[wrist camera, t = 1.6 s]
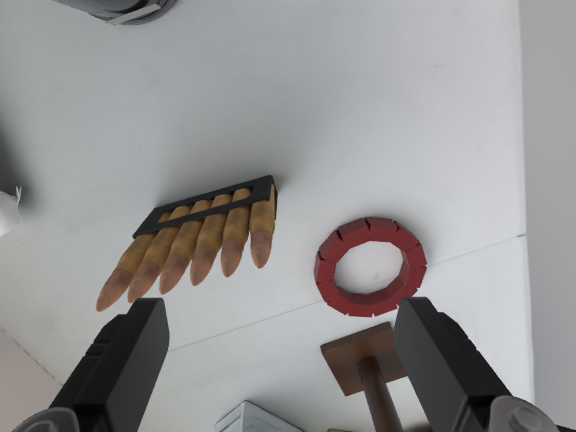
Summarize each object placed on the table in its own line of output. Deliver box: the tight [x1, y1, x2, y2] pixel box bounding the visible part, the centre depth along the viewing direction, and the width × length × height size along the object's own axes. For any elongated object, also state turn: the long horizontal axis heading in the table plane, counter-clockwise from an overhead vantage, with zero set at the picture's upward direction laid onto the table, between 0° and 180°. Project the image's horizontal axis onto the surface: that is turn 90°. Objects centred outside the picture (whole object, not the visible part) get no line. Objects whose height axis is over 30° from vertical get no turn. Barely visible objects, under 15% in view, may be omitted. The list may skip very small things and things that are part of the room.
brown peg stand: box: [320, 322, 408, 432], centre depth 30 cm, size 8×8×12 cm
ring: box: [314, 217, 427, 317], centre depth 29 cm, size 10×10×2 cm
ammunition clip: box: [96, 175, 278, 312], centre depth 21 cm, size 11×2×12 cm, turn 106°
